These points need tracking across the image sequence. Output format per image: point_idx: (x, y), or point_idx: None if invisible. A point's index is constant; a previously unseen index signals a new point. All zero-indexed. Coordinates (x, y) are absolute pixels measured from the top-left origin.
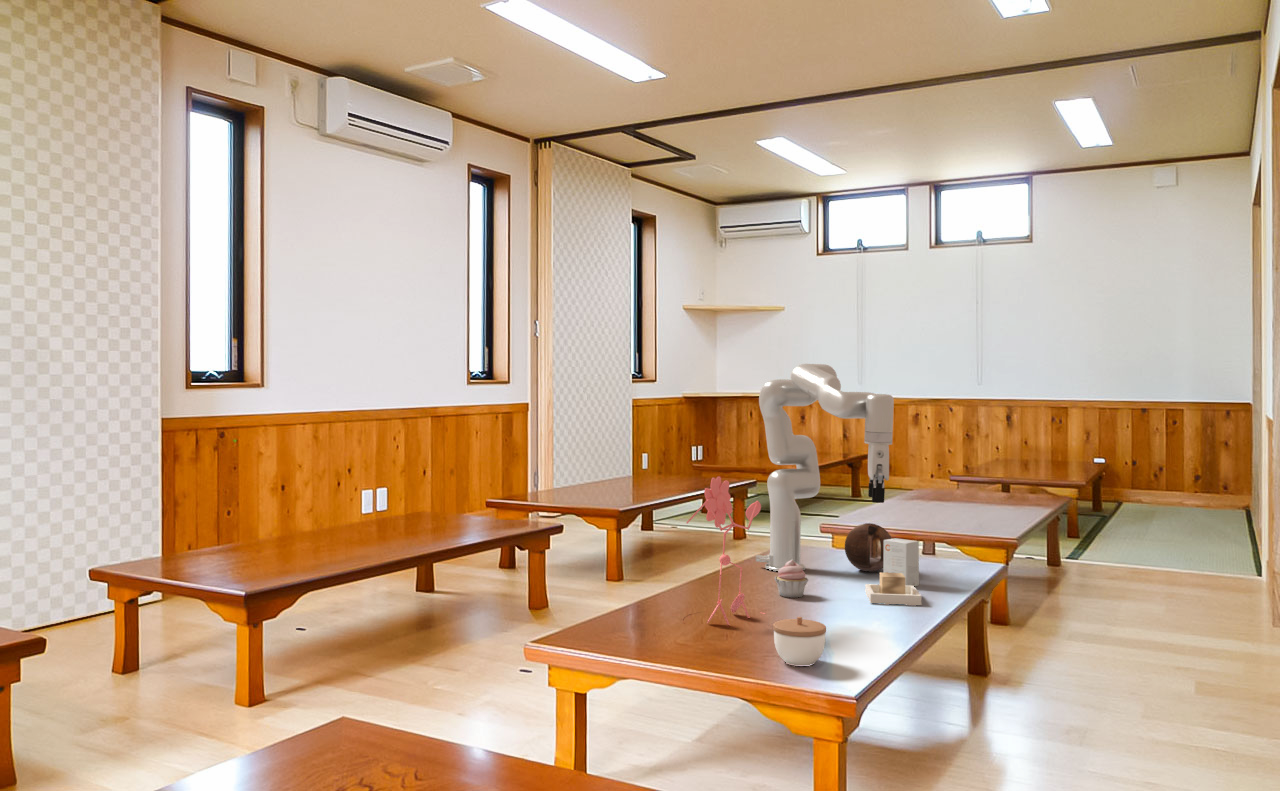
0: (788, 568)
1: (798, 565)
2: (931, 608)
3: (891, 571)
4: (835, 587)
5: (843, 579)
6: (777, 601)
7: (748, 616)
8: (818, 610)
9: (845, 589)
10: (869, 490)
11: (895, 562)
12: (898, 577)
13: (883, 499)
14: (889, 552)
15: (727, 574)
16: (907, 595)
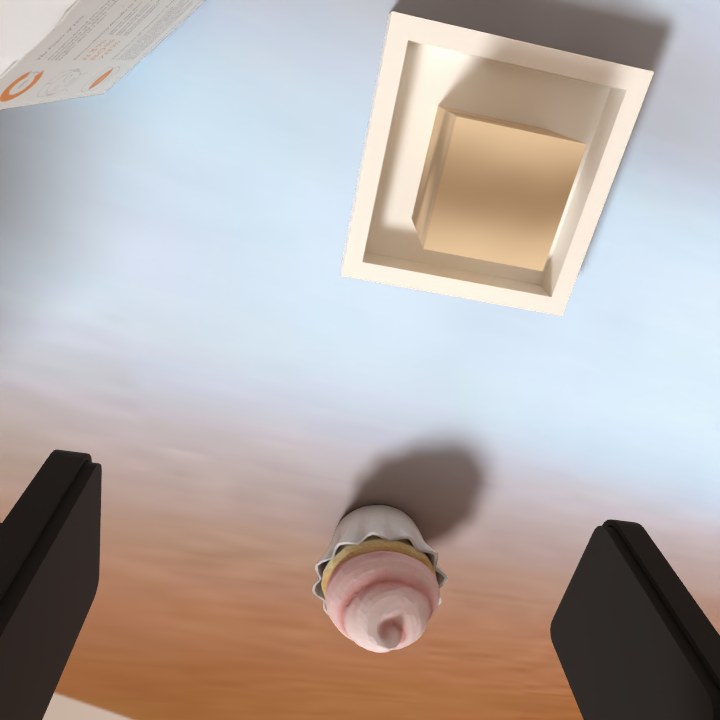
0: (418, 637)
1: (394, 609)
2: (695, 36)
3: (114, 60)
4: (213, 355)
5: (12, 274)
6: (460, 583)
7: None
8: (610, 498)
9: (254, 324)
10: (59, 671)
11: (115, 39)
12: (572, 184)
13: (654, 558)
14: (49, 74)
15: None
16: (625, 147)
